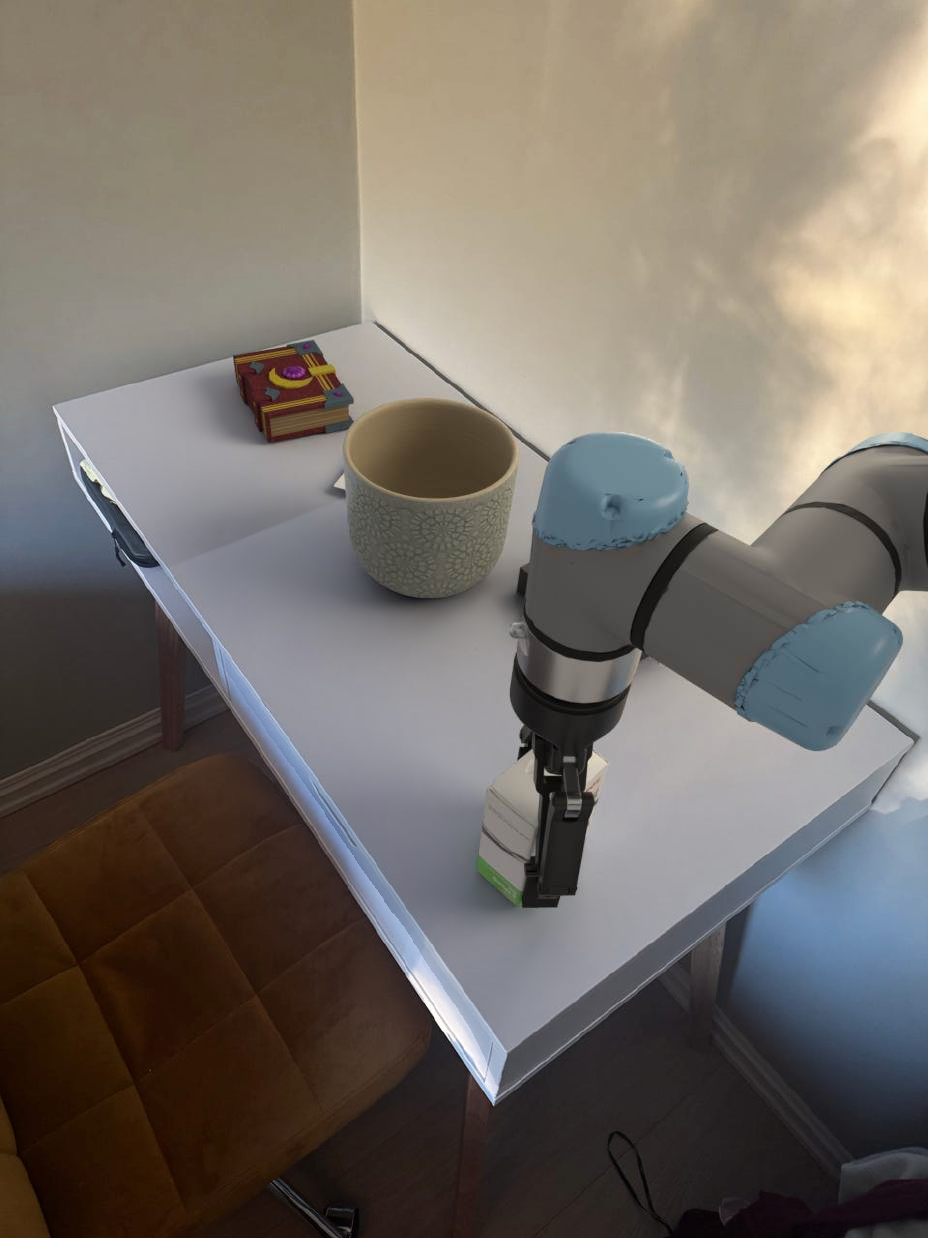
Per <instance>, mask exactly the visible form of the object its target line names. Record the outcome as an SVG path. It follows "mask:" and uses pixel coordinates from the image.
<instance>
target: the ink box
mask: <svg viewBox="0 0 928 1238" xmlns="http://www.w3.org/2000/svg"><path fill="white" fill-rule="evenodd" d="M534 761H535V756H534V753H533V749H531V750H530V751H529V752H528V753H526V754H525V755H524V756H523V757H521V758H520V759H519V760H518V761H517V760H516V761H515V762H514V763H513V764H512V765H510V766H509V767H508V768H507V769H506V770H504V771H503V772H502V773H501V774H500V775H499V776H497V777H495V778H494V779H493V780H492V783H491V784H490V785H489V786H488V787H486V793H485V802H484V809H483V816H482V825H481V831H480V839H479V840H480V841H479V848H478V855H477V862H476V863H477V864H476V871H477V873H479V874H480V875H481V876H482V877H483V878H484V879H485V880H486V881H487V882H488V883H490V884H491V885H492V886H493V887H494V888H495V889H496V890H497V891H499V892H500V893H501V894H502V895H503V896H505V898H507V899H508V900H509V901H510V903H512V904H514V905H515V906H516V907H518V908H520V907H522V900H521V899H522V894H523V889H524V885H525V880H526V877H525V873H524V863H529V862H530V858H531V856H535V851H536V836H537V832H538V808H539V793H538V792H537V791H536V788H535V785H534V780H533V776H534ZM609 765H610V762H609V761H608V760H607V759H605V758H604V757H603V756H602V755H601V754H600V753H598V752H597V751H596V750H595V749H593V752H592V757H591V758H590V759H589V760H588V766H587V778H586V788H585V791H584V792H592V794H593V796H594V799H595V805H594V806H593V811H592V813H591V816H590V818H589V820H588V825H587V831H586V836H585V842H584V844H586V841H587V838H588V835H589V833H590V829H591V826H592V821H593V819H594V816H595V812H596V809H597V805H598V802H599V799H600V795H601V792H602V789H603V786H604V782H605V778H606V777H607V771H608V768H609V767H610V766H609ZM544 775H545V776H561V775H555V774H550V773H548V772H547V771H546V770H545V769H544Z"/></svg>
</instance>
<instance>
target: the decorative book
mask: <svg viewBox="0 0 928 1238" xmlns="http://www.w3.org/2000/svg"><path fill="white" fill-rule="evenodd" d="M232 359H233V360H232V361H233V368H234V374H235V381H236V384H237V386H238V388H239V391H240V392H239V394H240V398H241V399H242V401H243V403H244V404H245V405H246V404H248V406H249V408H250V410H251V412H252V414H253V415H254V416H253V417H254V423H255V425H256V428H257V429H258V431H259V433H262V432H263V434H264V436H265V438H266V440H267V442H268V443H269V444H270V443H274V442H275V443H276V442H280V441H284V440H290V439H294V438H299V437H303V436H304V437H305V436H309V435H313V434H319V433H323V432H325V433H332V432H337V431H342V430H348V429H349V427H350V426H351V425H352V424H353V423H354V422H355V421H354V419H353V418H352V416H351V415H350V414H349V413H350V405H353V404H354V401H355V400H354V399H355V398H354V397H353V396H352V394H351V392H350V391H349V390H348V389H347V387H346V385H345V384H344V383H341V381H340V379H339V378H338V377H337V370H336V368H335V367H334V365H333V364H332V363H328V361H327V360H326V359H325V357H324V353H323V352H322V350H321V349H320V347H319V345H318V344H317V343H316V341H315V340H314V339H311V340H310V339H309V340H305V341H299V342H295V343H288V344H286V346H281V347H274V348H268V349H263V350H257V351H252V352H246V353H240V354H234V355H232Z"/></svg>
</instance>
